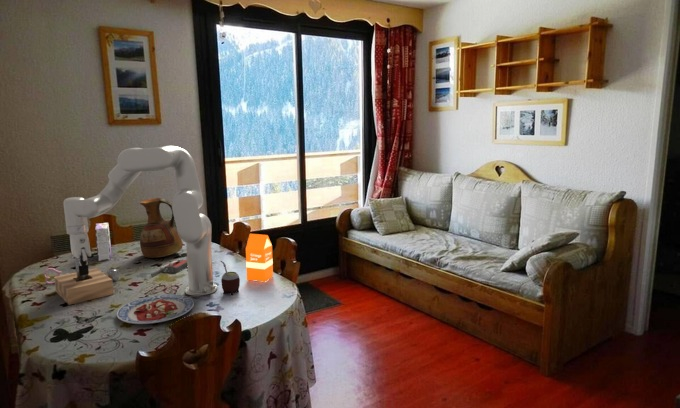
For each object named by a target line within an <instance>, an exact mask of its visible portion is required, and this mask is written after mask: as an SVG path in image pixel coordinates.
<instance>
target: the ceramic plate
mask: <svg viewBox="0 0 680 408" xmlns="http://www.w3.org/2000/svg"><path fill="white" fill-rule="evenodd" d="M194 303H195V302H194V300H193V299H192V298H191V297H189V296H186V295H182V294H173V293H169V294H168V293H164V294H154V295H149V296H145V297H141V298H137V299H134V300H132V301H130V302H127V303H126V304H124V305H122V306H120V308H118V310H117V312H116V317H117V319H119V320H120V321H122V322H124V323H127V324H135V325H137V324H138V325H147V324H149V325H150V324H156V323H163V322H167V321H170V320H174V319H176V318H179V317H181V316H183V315H185V314H187V313H188V312H190V311H191V310H192V309H193V307H194Z"/></svg>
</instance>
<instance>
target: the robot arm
mask: <svg viewBox="0 0 680 408" xmlns="http://www.w3.org/2000/svg"><path fill="white" fill-rule="evenodd" d="M196 167H197V166H196V163H195V160H194V158H193V156H192V155H191V154H190V153H189V152H188V151H187V150H186V149H184V148H181V147H179V146H176V145H163V146H159V147H148V148H141V147H131V148H126V149H123V150H122V151H121V152H120V153H119V154H118V157H117V164H116V165H115V166H114V167H113V168H112V169H111V170H110V171H109V172H108V174H107V177H108V179H109V180H108V182H107V184H106V185H105V187H103V189H102V190H101V191H100V192H99V193H98V194H97V195H94V196H91V197H88V198H84V197H81V196H72V197H67V198H65V199H64V200H63V201H62V202H63V213H64V221H65V229H66V234H67V235H69V241H70V243H69V244H70V250H71V254H72V256H73V257H74V258H75V257H76V258H78V260H79V275H80V276H82V275H87V274H89V271H88V270H89V264H88V257H89V258H91V257H92V252H91V246H90V245H91V244H90V239H89V235H88V233H89V230H90V229H89V223H88V222H89V220H88V218H89V219H90V218H91V219H92V218H96V217H99V216H101V215H103V214H106V213H107V212H109V211H111V210H112V209H113V208H114V207H115V205H116V204H118V202H119V201H120V200H121V198H122V197H124V194H125V193H126V192H127V190H128V188H129V186H131V185H132V184H133V182H134V181H135V180H136V179H137V178H138V177H139V176H140V174H141V173H143V172H156V171H157V172H158V171H164V170H169V169H173V170H174V181H175V184H176V189H177V192H176V193H175V194H174V196H173V198H172V201H171V203H172V210H173V215H174V224H175V226H176V227H175V228H176V229H177V231H178V234H179V237H180V238H181V240H182V242H184V243H186V245H185V247H186V260H187V266H188V267H187V275H188V276H187V279H188V286H186V287H185V289H184V292H185V294H186V295H188V296H192V297H193V296H194V297H197V296H206V295H210V294H213V293H215V292H217V290H218V285H217V284H216V283H214V276H213V275H214V272H213V270H214V269H213V258H212V257H213V256H212V255H213V254H212V253H213V252H212V222H211V220H210V218H209V217H208V216H207V215H206V214H203V213H200V208H202V206H203V204H204V196H203V193H202V192H203V191H202V188H201V184H200V180H199V176H198V171H197V168H196ZM172 210H171V211H172ZM80 256H82V258H80ZM81 259H83V260H81ZM74 263H75V262H74ZM74 266H75V267H76V263H75V265H74Z"/></svg>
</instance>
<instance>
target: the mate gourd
mask: <svg viewBox="0 0 680 408" xmlns="http://www.w3.org/2000/svg"><path fill="white" fill-rule="evenodd" d="M220 262H221V263H222V264H223V268H224V270H225V272H224V274H223V275H222V276H221V279H220V282H221V288H222V291H223V293H222V294H223V295H228V294H230V296H234V294H235V292H236V293H240V290H239V289H240V283H241V282H240V281H241V279H240V275H239V274H238V273H237V272H235V271H228V270H227V266H226V263H225V262H224V261H223V260H220Z"/></svg>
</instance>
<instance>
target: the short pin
mask: <svg viewBox="0 0 680 408" xmlns="http://www.w3.org/2000/svg"><path fill="white" fill-rule="evenodd" d="M107 276H108V277H110V278H111V279H112V280H113V284H114V283H118V282H119V280H120V279H119V272H118V268H110V269H107Z"/></svg>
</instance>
